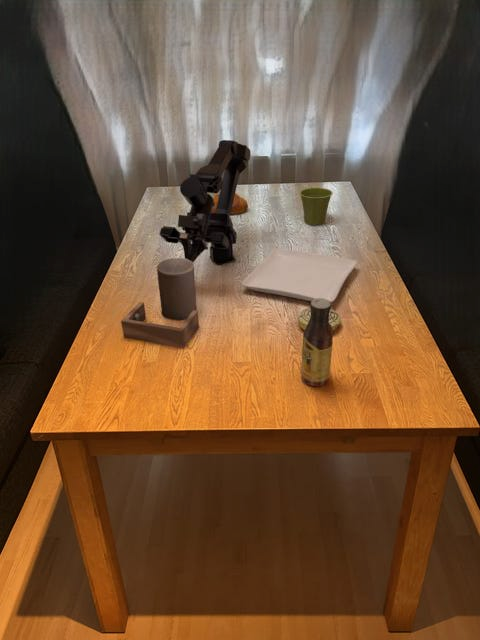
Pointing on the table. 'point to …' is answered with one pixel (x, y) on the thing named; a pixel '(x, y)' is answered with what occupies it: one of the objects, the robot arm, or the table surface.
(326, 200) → the plant pot
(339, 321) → the decorated donut
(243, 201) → the croissant
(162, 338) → the holder
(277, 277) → the square plate
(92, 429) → the table surface
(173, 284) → the pillar candle
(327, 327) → the sauce bottle
